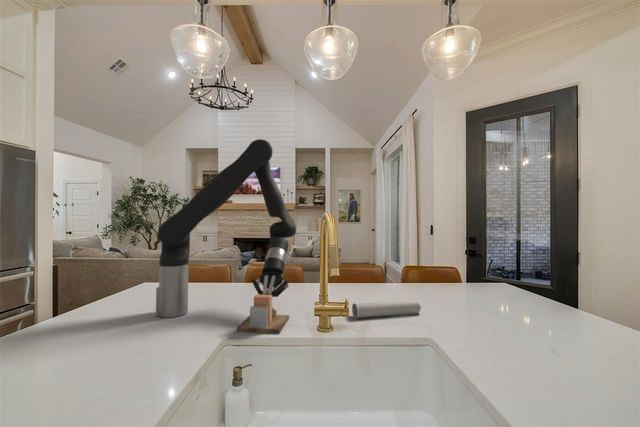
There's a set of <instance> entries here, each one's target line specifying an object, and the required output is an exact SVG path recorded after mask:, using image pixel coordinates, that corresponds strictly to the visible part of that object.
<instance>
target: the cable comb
mask: <svg viewBox="0 0 640 427" xmlns="http://www.w3.org/2000/svg"><path fill="white" fill-rule="evenodd" d="M277 315H278V309H277V308H276V307H275V306H272V316H277Z"/></svg>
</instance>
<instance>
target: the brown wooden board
mask: <svg viewBox="0 0 640 427" xmlns="http://www.w3.org/2000/svg"><path fill="white" fill-rule="evenodd" d="M289 319H290V315H289V314H277V316H272V321H271V322H270V324H268V327H267V329H258V328H250V315H249V316H248V317H246V318H245V319H244V320H243V321H242V322H241V323H240V324H239V325H238V326H236V332H237V331H239V333H256V334H257V333H258V334H259V333H260V334H261V333H262V334H281V332H282V330H283V329H284V327H285V325H286V324H287V323H288V321H289Z"/></svg>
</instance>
